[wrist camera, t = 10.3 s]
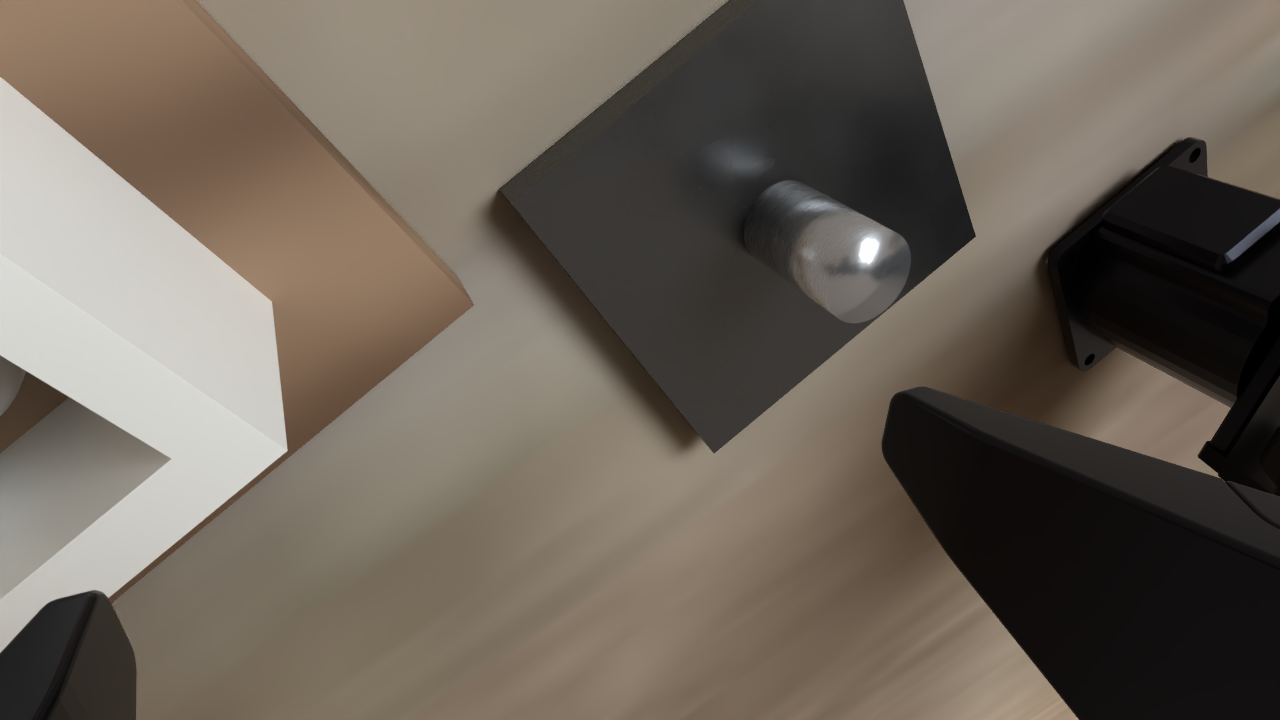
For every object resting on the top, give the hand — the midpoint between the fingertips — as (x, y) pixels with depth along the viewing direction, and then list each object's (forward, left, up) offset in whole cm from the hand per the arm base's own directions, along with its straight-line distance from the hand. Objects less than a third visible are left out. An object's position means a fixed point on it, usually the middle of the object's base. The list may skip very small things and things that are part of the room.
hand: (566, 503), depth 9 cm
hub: (+4, +6, -10) cm, 13 cm away
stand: (-6, -7, -10) cm, 14 cm away
